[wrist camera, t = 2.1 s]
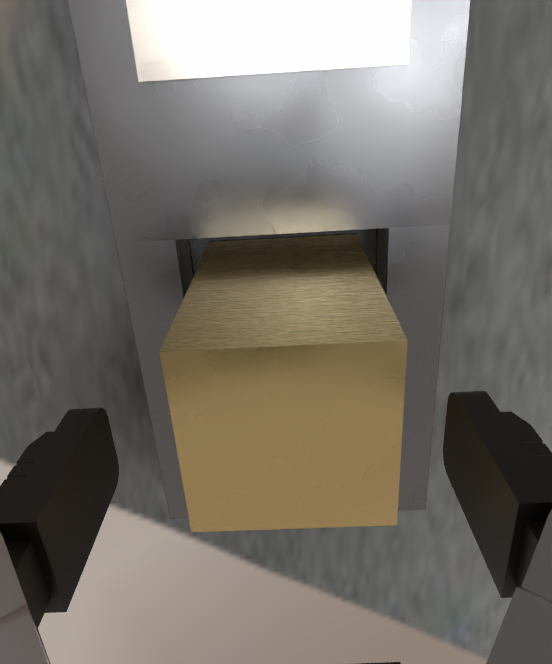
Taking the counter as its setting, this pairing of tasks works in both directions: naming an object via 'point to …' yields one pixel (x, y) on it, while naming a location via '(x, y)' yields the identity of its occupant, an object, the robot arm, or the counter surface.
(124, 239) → the grey slotted holder
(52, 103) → the counter surface
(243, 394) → the yellow wooden block
